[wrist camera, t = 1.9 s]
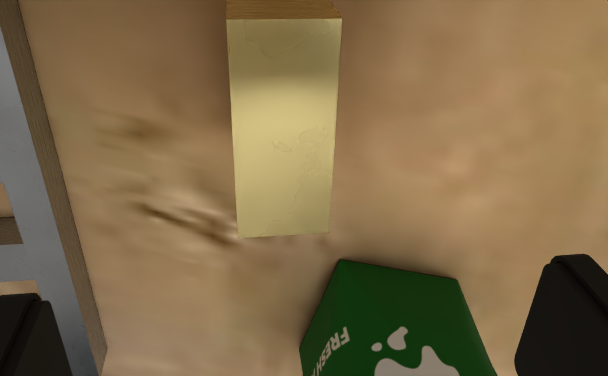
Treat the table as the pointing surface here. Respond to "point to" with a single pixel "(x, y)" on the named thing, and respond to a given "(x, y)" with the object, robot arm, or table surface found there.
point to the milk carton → (392, 327)
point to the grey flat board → (41, 205)
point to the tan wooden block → (283, 113)
